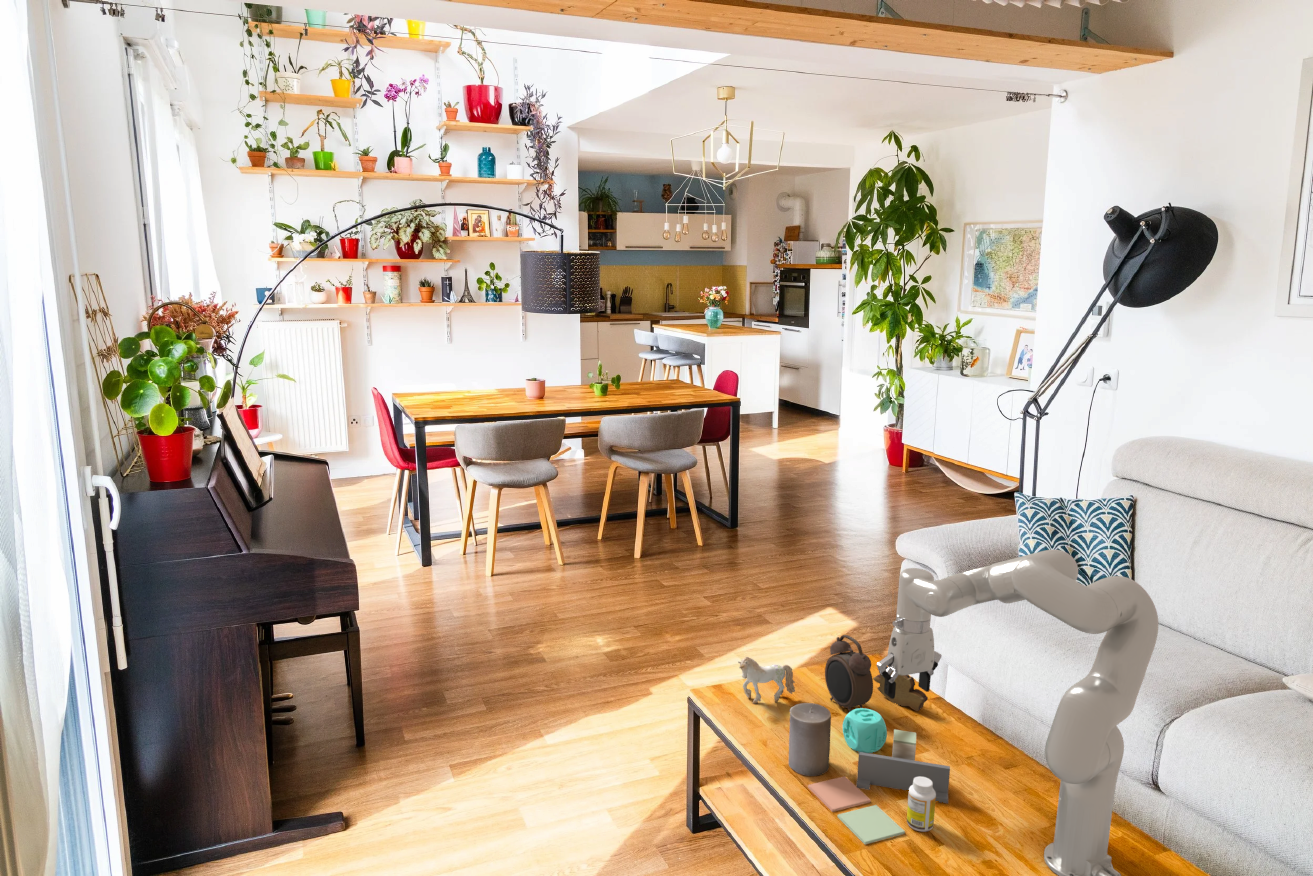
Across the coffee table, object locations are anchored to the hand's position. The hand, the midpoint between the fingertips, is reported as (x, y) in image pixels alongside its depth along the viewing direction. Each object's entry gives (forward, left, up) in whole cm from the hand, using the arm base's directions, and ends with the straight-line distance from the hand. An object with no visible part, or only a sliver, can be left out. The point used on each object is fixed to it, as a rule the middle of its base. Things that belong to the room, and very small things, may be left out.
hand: (906, 692), depth 204 cm
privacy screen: (-5, +3, -21) cm, 22 cm away
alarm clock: (+32, -7, -21) cm, 39 cm away
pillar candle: (+11, +18, -21) cm, 30 cm away
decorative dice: (+14, 0, -21) cm, 25 cm away
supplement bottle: (-17, +8, -21) cm, 29 cm away
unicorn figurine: (+41, +13, -21) cm, 48 cm away
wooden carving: (+29, -22, -21) cm, 42 cm away
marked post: (0, 0, -21) cm, 21 cm away
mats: (-8, +18, -21) cm, 29 cm away
